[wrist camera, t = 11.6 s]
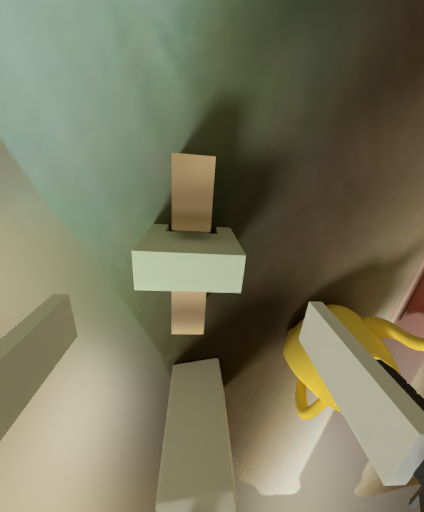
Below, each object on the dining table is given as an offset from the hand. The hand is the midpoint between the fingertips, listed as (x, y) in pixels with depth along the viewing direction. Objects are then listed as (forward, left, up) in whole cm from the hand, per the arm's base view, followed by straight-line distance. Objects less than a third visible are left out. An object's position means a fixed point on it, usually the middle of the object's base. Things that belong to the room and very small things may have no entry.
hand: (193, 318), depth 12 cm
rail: (0, 0, -15) cm, 15 cm away
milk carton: (+23, +2, -15) cm, 28 cm away
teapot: (+13, +20, -15) cm, 28 cm away
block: (0, 0, -15) cm, 15 cm away
